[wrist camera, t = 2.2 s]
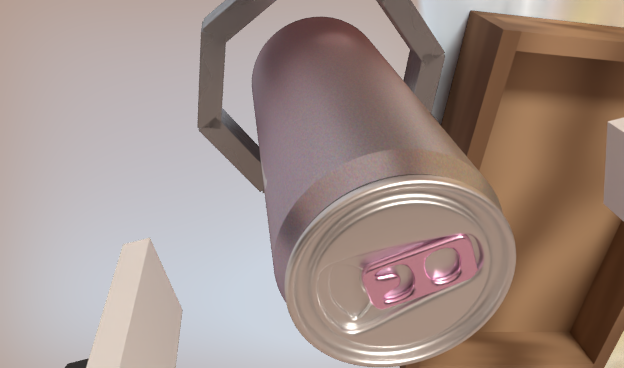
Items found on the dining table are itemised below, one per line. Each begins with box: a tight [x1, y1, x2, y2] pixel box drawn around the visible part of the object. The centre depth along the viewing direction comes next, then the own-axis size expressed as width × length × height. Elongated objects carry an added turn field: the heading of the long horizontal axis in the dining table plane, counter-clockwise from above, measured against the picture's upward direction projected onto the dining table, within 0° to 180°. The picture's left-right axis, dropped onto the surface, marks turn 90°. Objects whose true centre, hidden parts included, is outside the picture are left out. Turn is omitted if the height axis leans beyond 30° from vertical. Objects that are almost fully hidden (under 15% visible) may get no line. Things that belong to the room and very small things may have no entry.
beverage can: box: [252, 17, 516, 367], centre depth 20 cm, size 6×6×15 cm
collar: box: [198, 0, 445, 193], centre depth 25 cm, size 10×10×2 cm
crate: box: [400, 11, 624, 368], centre depth 30 cm, size 13×20×4 cm, turn 172°
